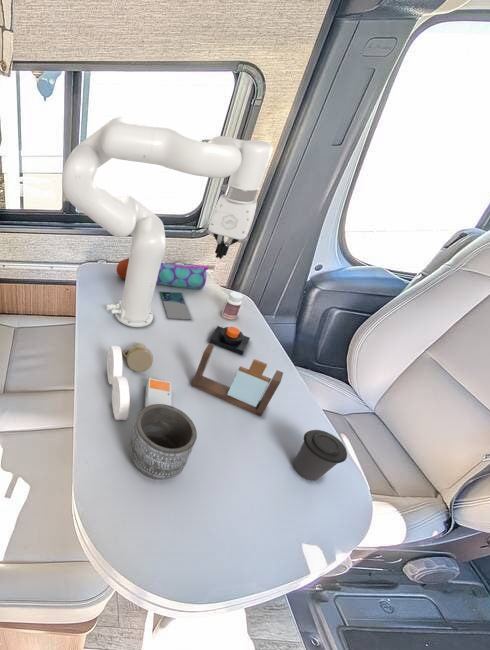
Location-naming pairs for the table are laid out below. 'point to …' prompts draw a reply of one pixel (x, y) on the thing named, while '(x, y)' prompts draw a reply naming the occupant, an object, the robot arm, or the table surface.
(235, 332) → the button
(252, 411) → the window frame
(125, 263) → the fruit
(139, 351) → the mug
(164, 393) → the cosmetic box
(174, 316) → the smartphone
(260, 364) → the window pane
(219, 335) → the button housing
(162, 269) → the pencil case
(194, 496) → the table surface
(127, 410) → the letter
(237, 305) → the pill bottle
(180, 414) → the planter
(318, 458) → the coffee cup
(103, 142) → the robot arm
